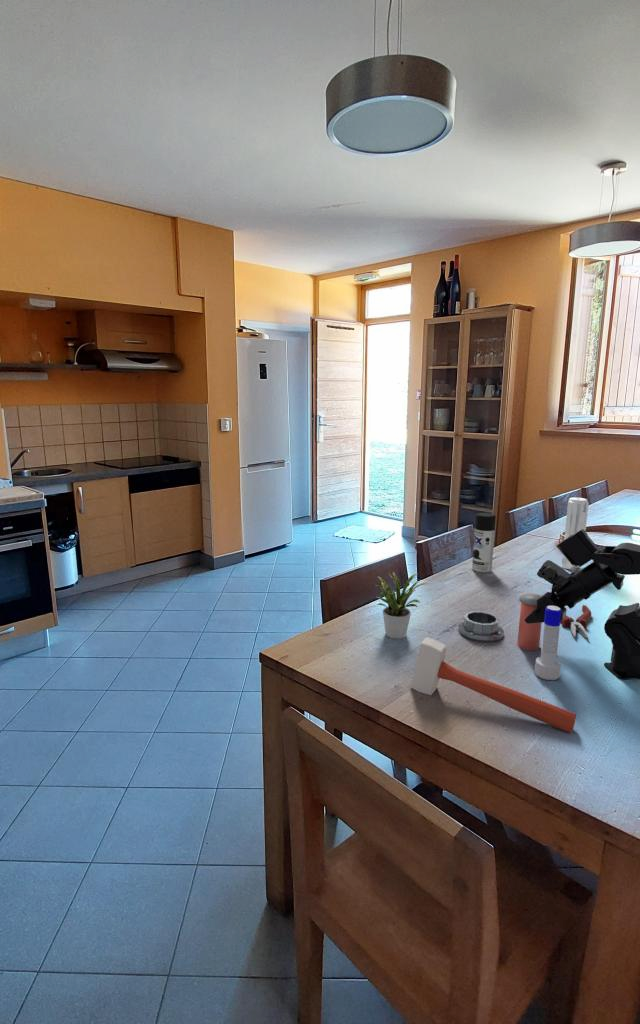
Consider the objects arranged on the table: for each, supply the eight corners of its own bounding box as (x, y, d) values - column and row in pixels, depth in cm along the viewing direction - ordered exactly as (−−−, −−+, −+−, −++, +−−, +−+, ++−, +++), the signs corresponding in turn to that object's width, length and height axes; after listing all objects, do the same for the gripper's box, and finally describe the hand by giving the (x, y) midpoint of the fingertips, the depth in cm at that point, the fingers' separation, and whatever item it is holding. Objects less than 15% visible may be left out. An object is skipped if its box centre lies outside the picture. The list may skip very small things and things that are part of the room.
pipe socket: (510, 641, 132) (511, 626, 131) (465, 642, 132) (466, 627, 131) (494, 622, 143) (495, 609, 142) (453, 623, 143) (453, 609, 142)
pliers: (555, 640, 134) (556, 630, 134) (542, 608, 154) (543, 599, 154) (607, 645, 132) (608, 635, 131) (587, 612, 152) (588, 603, 151)
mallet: (582, 697, 97) (425, 635, 111) (580, 706, 94) (418, 641, 108) (566, 746, 100) (415, 679, 114) (564, 757, 97) (409, 687, 111)
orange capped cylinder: (545, 650, 128) (550, 601, 125) (521, 651, 127) (525, 602, 125) (534, 639, 133) (539, 592, 131) (511, 640, 133) (515, 592, 130)
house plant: (431, 626, 141) (434, 567, 138) (427, 649, 128) (430, 585, 125) (377, 620, 145) (379, 562, 141) (368, 642, 132) (370, 579, 128)
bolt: (532, 677, 116) (536, 667, 120) (557, 683, 113) (560, 673, 117) (539, 609, 112) (542, 601, 116) (565, 614, 110) (567, 606, 114)
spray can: (467, 568, 188) (471, 513, 184) (482, 566, 191) (486, 511, 187) (480, 574, 182) (484, 517, 178) (496, 571, 185) (500, 515, 181)
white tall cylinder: (562, 569, 188) (569, 499, 183) (560, 563, 194) (567, 496, 189) (582, 571, 186) (590, 500, 181) (579, 565, 192) (587, 497, 187)
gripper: (572, 544, 129) (522, 577, 138) (551, 562, 115) (496, 598, 124) (604, 582, 126) (551, 613, 135) (586, 605, 112) (528, 639, 121)
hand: (531, 615), depth 129 cm, fingers open, 9 cm apart
